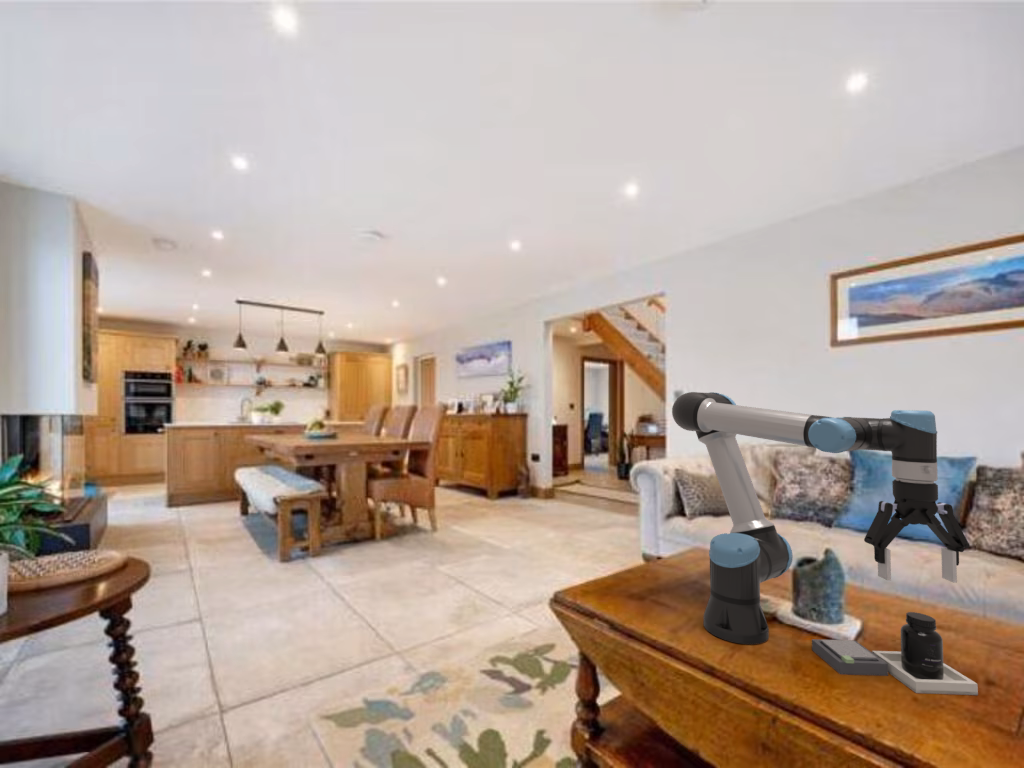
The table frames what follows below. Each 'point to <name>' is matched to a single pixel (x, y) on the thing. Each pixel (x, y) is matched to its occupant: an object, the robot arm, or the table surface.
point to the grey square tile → (848, 649)
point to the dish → (949, 684)
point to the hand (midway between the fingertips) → (916, 579)
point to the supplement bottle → (921, 647)
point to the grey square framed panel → (850, 662)
